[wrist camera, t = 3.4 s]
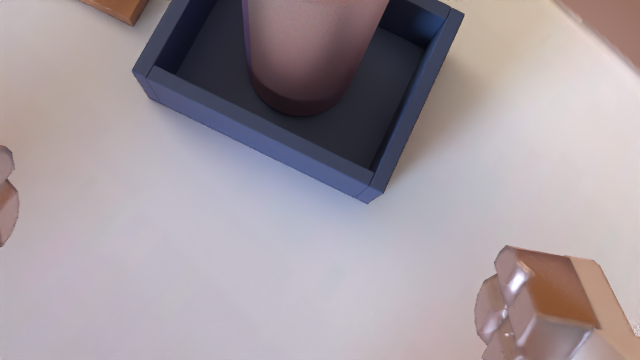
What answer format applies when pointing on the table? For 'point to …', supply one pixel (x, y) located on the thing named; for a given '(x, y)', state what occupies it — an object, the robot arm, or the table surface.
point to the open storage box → (315, 130)
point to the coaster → (120, 8)
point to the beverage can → (306, 49)
